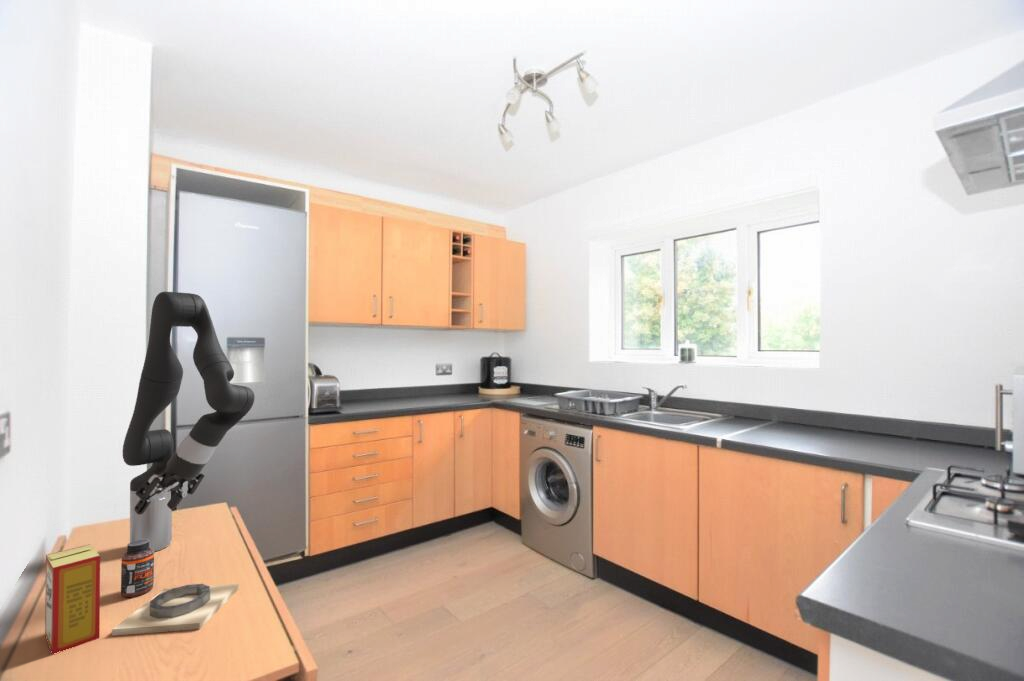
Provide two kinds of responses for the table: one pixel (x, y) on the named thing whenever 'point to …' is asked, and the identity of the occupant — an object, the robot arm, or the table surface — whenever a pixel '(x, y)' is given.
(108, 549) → the table surface
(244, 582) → the table surface
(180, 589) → the ring collar
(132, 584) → the supplement bottle
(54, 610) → the baking soda box
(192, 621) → the birch board
